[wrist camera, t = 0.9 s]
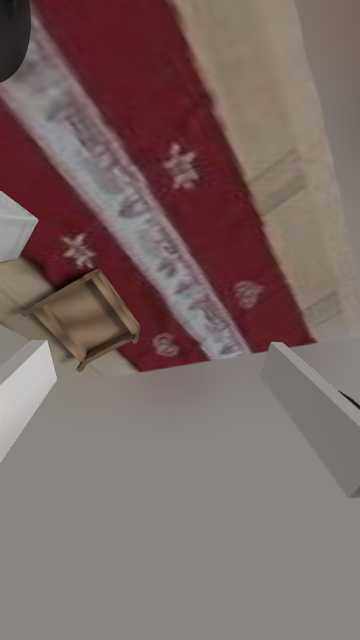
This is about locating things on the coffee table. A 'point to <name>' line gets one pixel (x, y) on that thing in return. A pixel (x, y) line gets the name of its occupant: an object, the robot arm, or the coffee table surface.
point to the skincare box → (14, 228)
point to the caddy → (87, 317)
